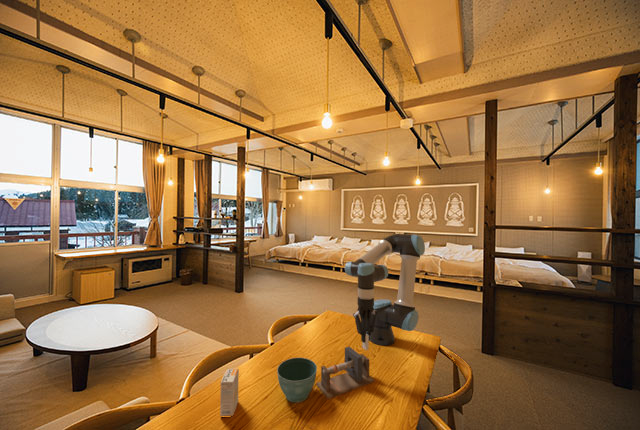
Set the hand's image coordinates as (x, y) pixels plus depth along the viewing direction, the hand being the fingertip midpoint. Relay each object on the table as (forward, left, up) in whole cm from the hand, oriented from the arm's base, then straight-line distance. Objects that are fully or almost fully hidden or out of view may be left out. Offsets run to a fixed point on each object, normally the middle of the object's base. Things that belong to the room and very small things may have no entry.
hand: (365, 348), depth 116 cm
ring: (+7, 0, -10) cm, 12 cm away
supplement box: (+58, -7, -13) cm, 60 cm away
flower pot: (+33, -3, -13) cm, 35 cm away
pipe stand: (+11, 0, -13) cm, 16 cm away
